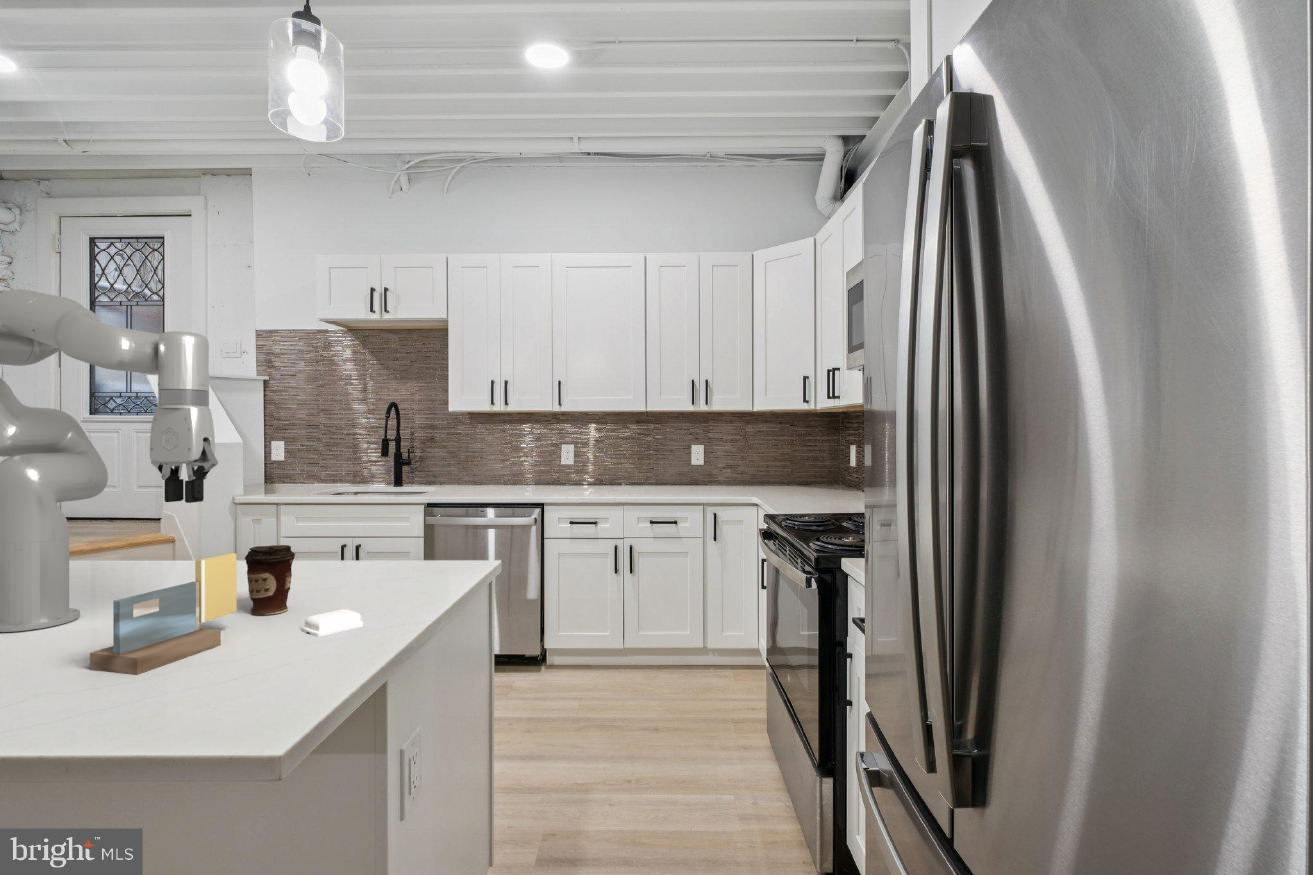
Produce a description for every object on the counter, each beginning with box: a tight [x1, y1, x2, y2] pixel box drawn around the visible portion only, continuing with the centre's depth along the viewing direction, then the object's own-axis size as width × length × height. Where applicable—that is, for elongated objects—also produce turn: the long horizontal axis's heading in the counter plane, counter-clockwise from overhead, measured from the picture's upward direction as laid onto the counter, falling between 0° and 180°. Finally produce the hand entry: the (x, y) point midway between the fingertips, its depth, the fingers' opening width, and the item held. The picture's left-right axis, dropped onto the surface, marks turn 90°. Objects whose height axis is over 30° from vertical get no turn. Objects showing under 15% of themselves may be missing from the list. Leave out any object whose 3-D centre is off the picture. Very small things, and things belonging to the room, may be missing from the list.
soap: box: [301, 608, 365, 638], centre depth 120 cm, size 9×7×3 cm
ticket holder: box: [89, 581, 222, 676], centre depth 105 cm, size 9×14×10 cm, turn 166°
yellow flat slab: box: [194, 552, 238, 624], centre depth 115 cm, size 1×7×10 cm, turn 167°
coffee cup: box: [244, 544, 296, 616], centre depth 131 cm, size 9×8×13 cm
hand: (184, 500), depth 120 cm, fingers open, 3 cm apart
